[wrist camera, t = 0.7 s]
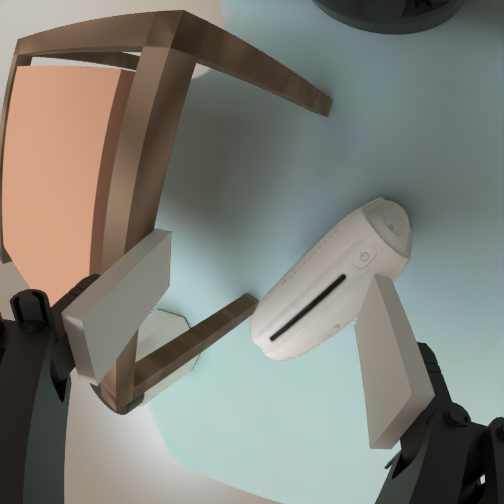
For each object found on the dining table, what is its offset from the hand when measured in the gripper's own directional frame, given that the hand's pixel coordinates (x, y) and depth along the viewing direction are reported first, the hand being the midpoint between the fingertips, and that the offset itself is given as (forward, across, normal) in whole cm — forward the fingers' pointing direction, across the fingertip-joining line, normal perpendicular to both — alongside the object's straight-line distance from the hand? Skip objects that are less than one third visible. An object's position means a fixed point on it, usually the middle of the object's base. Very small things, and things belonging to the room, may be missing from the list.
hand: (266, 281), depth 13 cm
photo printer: (+12, +7, -2) cm, 14 cm away
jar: (+17, -10, -21) cm, 29 cm away
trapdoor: (+3, -15, +1) cm, 15 cm away
